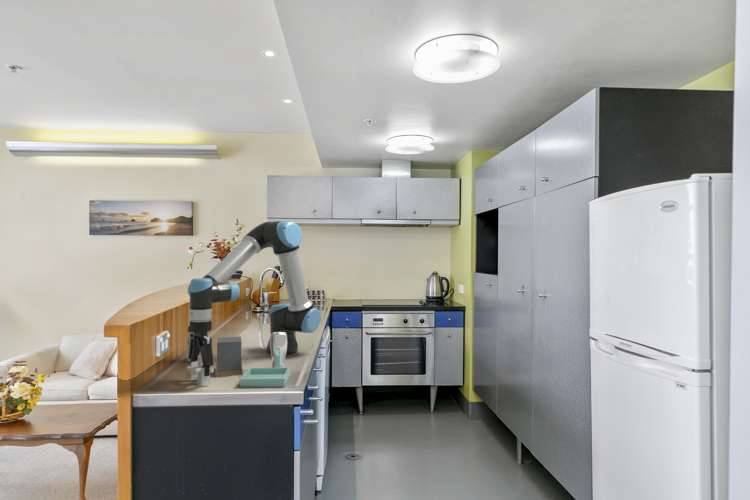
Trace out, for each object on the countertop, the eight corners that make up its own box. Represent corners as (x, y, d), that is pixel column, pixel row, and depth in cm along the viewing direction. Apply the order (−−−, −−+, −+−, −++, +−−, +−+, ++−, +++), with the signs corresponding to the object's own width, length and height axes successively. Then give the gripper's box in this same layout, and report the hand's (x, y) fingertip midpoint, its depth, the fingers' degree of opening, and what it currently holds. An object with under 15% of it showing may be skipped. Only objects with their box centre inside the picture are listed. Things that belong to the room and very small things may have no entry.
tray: (249, 375, 171) (249, 367, 171) (289, 375, 172) (289, 367, 172) (239, 387, 155) (239, 379, 156) (284, 387, 157) (284, 378, 157)
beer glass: (290, 368, 182) (290, 332, 182) (281, 372, 176) (281, 335, 176) (275, 367, 184) (275, 331, 185) (266, 371, 178) (266, 334, 178)
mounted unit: (216, 368, 182) (216, 337, 182) (241, 366, 185) (242, 335, 185) (215, 376, 169) (215, 343, 169) (242, 374, 172) (242, 341, 172)
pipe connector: (204, 388, 155) (204, 359, 155) (179, 386, 157) (179, 358, 157) (220, 380, 165) (220, 353, 165) (196, 378, 167) (196, 352, 167)
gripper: (179, 318, 166) (178, 377, 166) (202, 325, 151) (202, 390, 150) (199, 316, 171) (198, 374, 171) (223, 322, 156) (223, 386, 155)
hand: (200, 381), depth 161 cm, fingers closed on pipe connector, 9 cm apart
